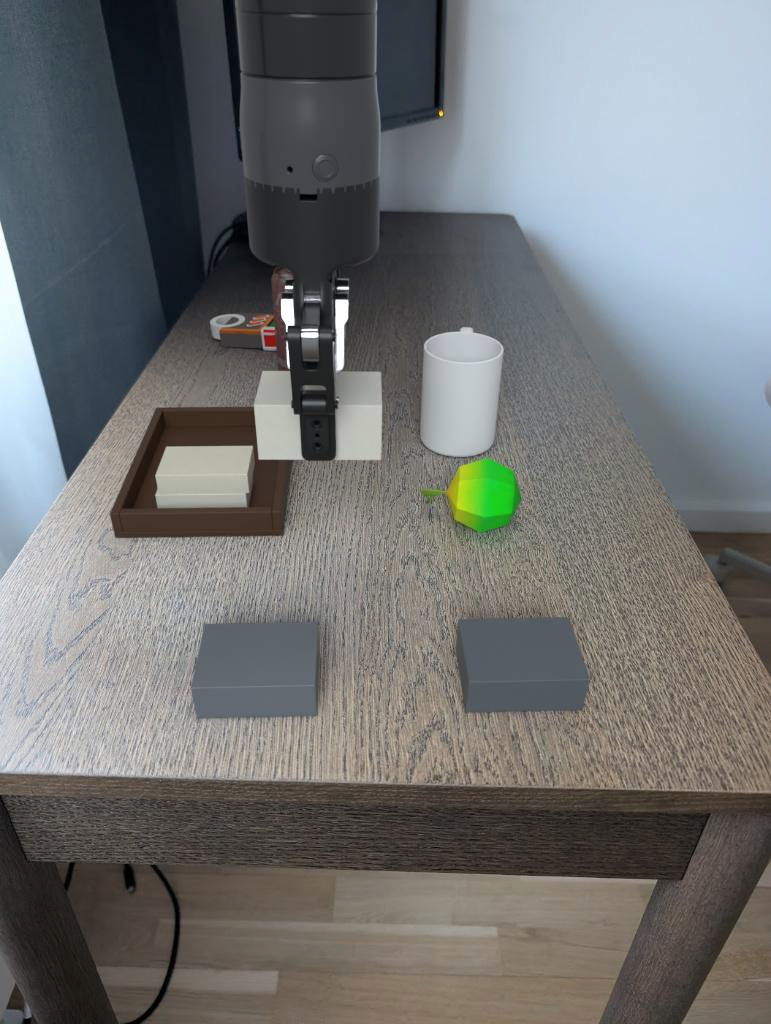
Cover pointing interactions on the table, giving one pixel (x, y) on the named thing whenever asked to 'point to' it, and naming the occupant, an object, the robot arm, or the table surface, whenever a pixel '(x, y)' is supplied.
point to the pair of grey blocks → (479, 647)
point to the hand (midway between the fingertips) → (321, 435)
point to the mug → (460, 392)
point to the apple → (482, 495)
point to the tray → (145, 519)
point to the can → (280, 325)
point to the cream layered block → (205, 477)
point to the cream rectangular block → (353, 415)
